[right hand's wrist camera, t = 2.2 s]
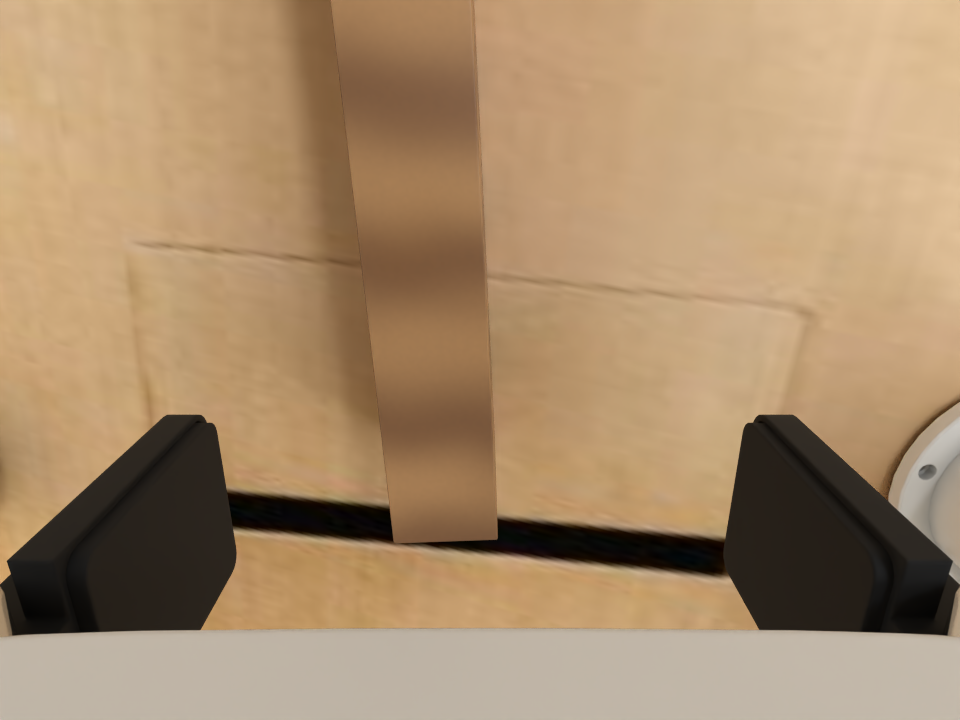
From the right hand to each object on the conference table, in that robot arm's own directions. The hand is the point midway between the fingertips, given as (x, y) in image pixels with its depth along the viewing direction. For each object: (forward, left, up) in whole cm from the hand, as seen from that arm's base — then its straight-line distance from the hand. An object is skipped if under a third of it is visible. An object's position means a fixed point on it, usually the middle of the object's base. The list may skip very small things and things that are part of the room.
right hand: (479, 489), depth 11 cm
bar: (+25, -3, -19) cm, 31 cm away
